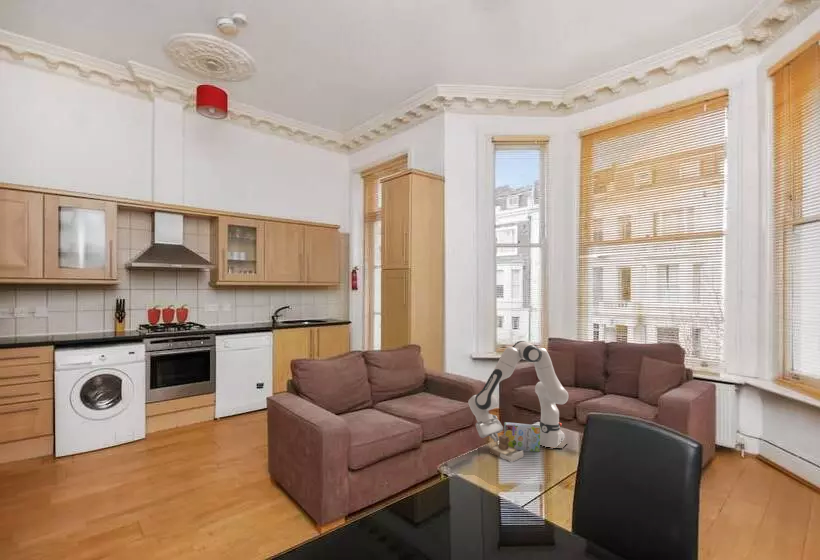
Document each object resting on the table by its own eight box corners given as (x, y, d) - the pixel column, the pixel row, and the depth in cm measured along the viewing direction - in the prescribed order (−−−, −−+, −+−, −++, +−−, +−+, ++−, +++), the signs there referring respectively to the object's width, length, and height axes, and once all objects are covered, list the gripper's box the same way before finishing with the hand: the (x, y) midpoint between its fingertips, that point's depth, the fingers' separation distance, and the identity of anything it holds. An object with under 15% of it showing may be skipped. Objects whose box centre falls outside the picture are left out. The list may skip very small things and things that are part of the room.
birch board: (501, 448, 254) (501, 443, 254) (516, 454, 246) (516, 449, 246) (489, 452, 246) (489, 447, 246) (504, 458, 238) (504, 453, 238)
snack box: (537, 448, 257) (538, 424, 257) (539, 452, 251) (540, 427, 251) (503, 445, 259) (504, 421, 259) (504, 449, 253) (505, 424, 253)
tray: (511, 452, 248) (512, 445, 248) (523, 457, 242) (523, 450, 242) (499, 456, 240) (500, 450, 240) (511, 461, 234) (511, 454, 234)
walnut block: (502, 446, 249) (503, 435, 249) (508, 448, 246) (508, 437, 246) (498, 448, 246) (499, 436, 246) (504, 450, 243) (504, 438, 243)
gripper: (477, 420, 248) (489, 442, 241) (497, 415, 262) (510, 435, 255) (471, 425, 252) (483, 447, 244) (491, 420, 265) (503, 440, 258)
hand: (497, 441), depth 249 cm, fingers closed
